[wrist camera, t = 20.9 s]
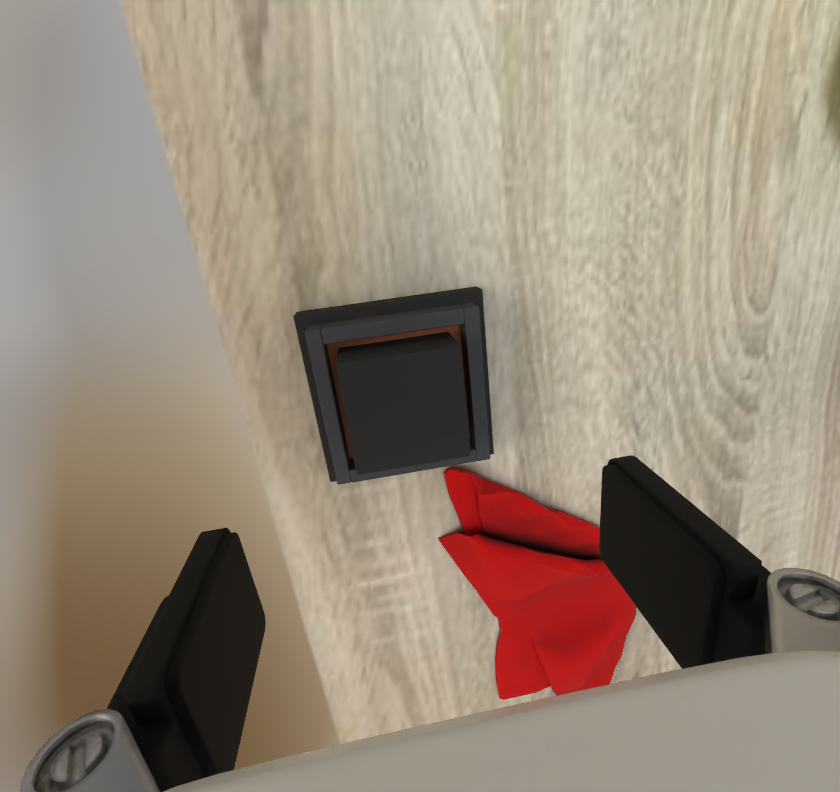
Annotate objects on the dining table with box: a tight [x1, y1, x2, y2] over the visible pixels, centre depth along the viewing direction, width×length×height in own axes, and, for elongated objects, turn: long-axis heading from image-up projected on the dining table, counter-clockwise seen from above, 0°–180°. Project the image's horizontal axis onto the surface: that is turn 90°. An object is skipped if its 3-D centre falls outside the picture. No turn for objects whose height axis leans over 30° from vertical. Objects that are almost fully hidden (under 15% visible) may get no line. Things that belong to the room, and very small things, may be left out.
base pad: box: [294, 287, 494, 484], centre depth 25 cm, size 10×10×3 cm
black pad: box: [335, 332, 471, 475], centre depth 24 cm, size 6×6×3 cm
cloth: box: [439, 468, 636, 699], centre depth 32 cm, size 26×14×2 cm, turn 17°
